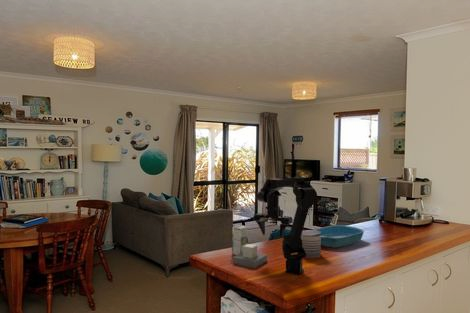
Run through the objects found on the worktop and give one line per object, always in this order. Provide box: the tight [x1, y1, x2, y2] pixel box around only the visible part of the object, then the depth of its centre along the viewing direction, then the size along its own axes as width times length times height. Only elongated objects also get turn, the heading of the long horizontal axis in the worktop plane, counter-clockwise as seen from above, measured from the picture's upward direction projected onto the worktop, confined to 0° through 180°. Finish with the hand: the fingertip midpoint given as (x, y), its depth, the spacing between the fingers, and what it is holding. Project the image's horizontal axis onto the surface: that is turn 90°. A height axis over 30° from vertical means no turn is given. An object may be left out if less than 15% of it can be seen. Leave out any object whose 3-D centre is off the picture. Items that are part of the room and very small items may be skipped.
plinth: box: [232, 252, 268, 269], centre depth 170 cm, size 12×12×3 cm
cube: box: [243, 243, 258, 258], centre depth 170 cm, size 5×5×5 cm
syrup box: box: [231, 224, 249, 256], centre depth 184 cm, size 6×6×14 cm
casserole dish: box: [313, 224, 365, 249], centre depth 211 cm, size 37×22×7 cm, turn 129°
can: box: [301, 229, 322, 259], centre depth 184 cm, size 11×11×12 cm
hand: (272, 236), depth 173 cm, fingers open, 9 cm apart
